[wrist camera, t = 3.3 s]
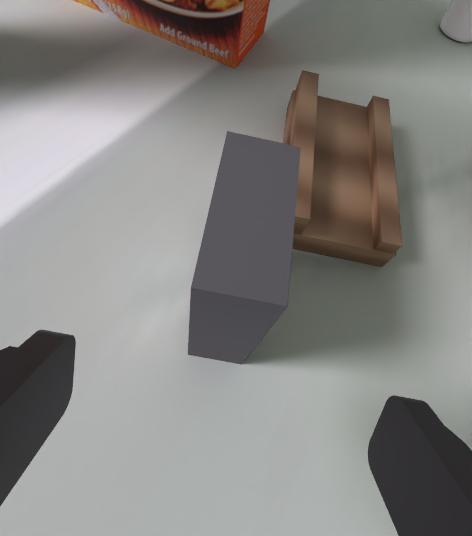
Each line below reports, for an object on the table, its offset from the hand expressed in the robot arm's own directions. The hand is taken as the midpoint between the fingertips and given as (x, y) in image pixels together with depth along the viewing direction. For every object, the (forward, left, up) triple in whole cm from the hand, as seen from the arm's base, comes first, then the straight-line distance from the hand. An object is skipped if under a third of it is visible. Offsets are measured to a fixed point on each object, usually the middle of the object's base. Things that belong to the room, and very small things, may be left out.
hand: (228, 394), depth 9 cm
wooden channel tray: (-14, +17, -13) cm, 26 cm away
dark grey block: (-7, +4, -13) cm, 15 cm away
